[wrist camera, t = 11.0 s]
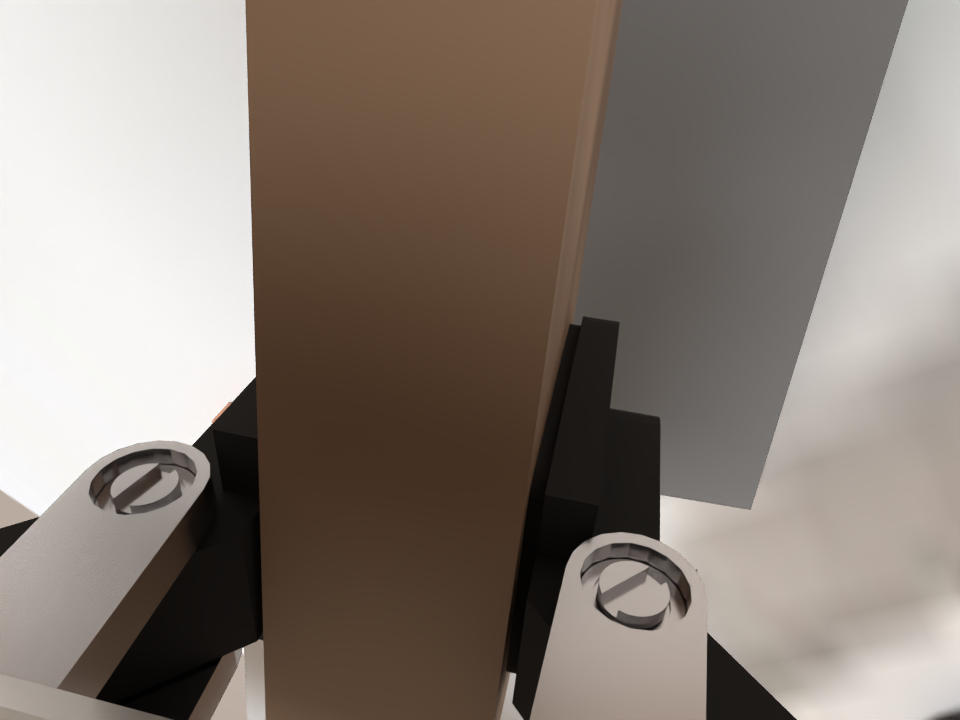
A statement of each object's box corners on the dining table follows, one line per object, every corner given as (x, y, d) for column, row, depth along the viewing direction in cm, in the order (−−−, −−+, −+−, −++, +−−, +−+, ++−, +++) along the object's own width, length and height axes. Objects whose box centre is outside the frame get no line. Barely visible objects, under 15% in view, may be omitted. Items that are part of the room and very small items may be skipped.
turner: (242, -163, 9) (-126, -391, 5) (880, -127, 8) (1178, -387, 4) (267, 776, 16) (124, 1045, 12) (617, 872, 15) (607, 1214, 11)
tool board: (474, -202, 19) (461, -211, 18) (950, -198, 17) (972, -209, 16) (460, 437, 31) (451, 459, 30) (746, 484, 29) (750, 509, 28)
